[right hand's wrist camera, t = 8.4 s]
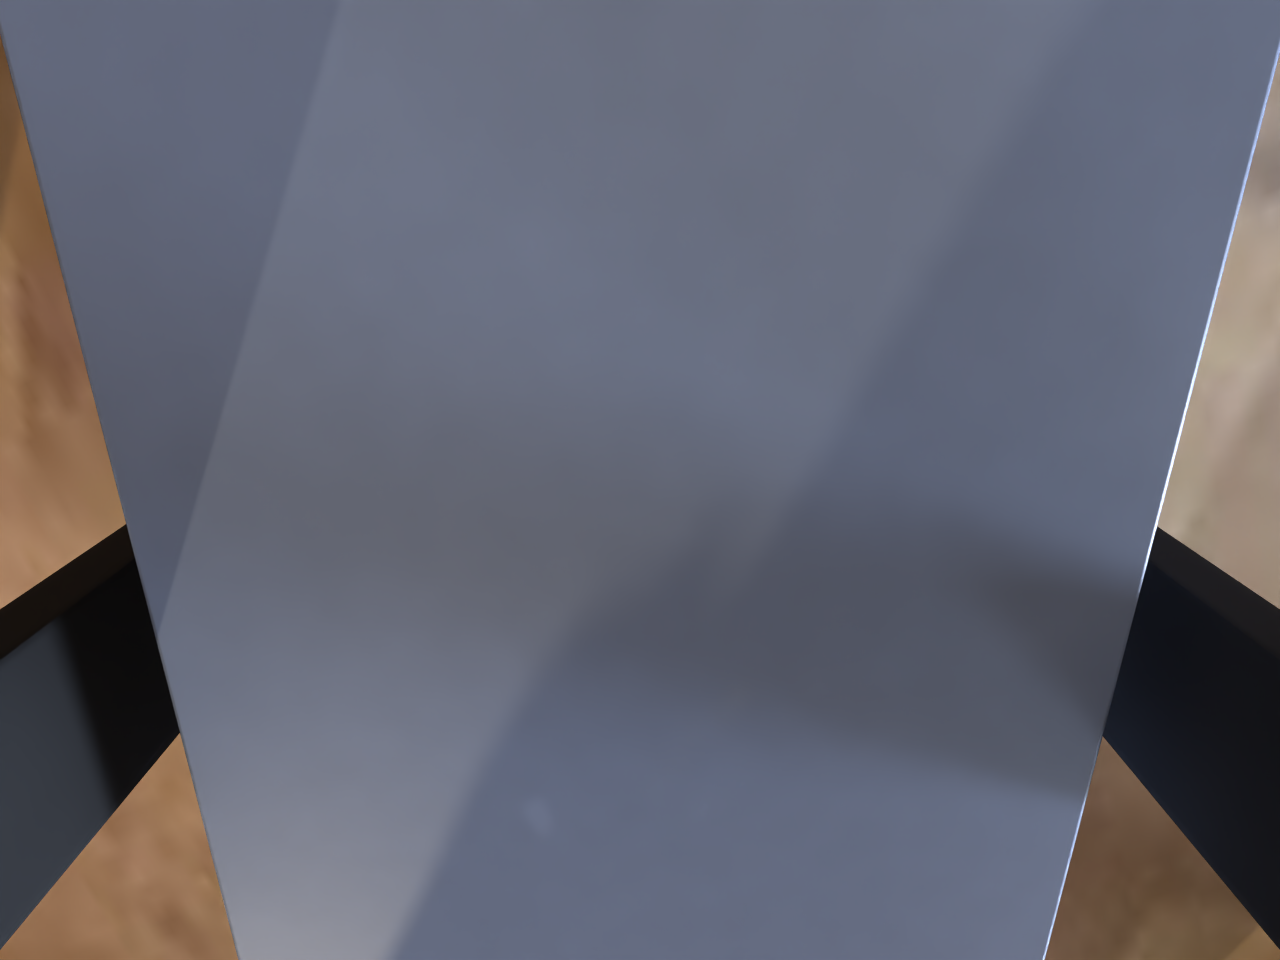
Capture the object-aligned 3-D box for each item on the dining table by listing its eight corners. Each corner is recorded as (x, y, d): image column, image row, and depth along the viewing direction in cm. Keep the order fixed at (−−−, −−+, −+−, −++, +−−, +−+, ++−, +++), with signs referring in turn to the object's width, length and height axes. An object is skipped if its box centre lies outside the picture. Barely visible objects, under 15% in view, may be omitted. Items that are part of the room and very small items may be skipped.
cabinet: (357, -253, 15) (-366, -1361, 4) (923, -253, 15) (1651, -1359, 4) (443, 589, 21) (246, 1001, 10) (837, 589, 21) (1036, 1002, 10)
